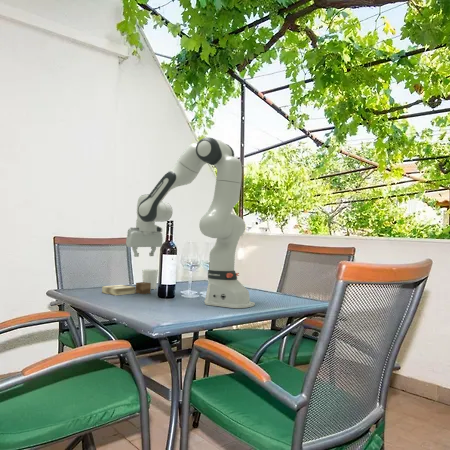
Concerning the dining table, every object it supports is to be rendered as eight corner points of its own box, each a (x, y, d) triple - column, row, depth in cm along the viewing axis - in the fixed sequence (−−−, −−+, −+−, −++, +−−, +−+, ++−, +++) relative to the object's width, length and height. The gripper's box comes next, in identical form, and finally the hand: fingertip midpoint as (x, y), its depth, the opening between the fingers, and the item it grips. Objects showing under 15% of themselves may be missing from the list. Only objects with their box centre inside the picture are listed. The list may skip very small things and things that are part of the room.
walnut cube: (150, 293, 205) (150, 283, 205) (142, 294, 201) (142, 283, 201) (143, 292, 208) (143, 282, 208) (135, 293, 204) (135, 282, 204)
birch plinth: (135, 293, 203) (135, 286, 203) (116, 295, 194) (116, 288, 194) (120, 290, 210) (121, 284, 210) (102, 292, 201) (102, 286, 201)
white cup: (139, 289, 217) (139, 269, 217) (146, 287, 224) (146, 268, 225) (152, 290, 215) (153, 270, 215) (159, 288, 222) (160, 269, 222)
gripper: (132, 227, 195) (131, 257, 195) (165, 228, 211) (163, 256, 211) (123, 227, 199) (122, 256, 199) (156, 228, 215) (155, 255, 215)
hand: (144, 256), depth 205 cm, fingers open, 8 cm apart
